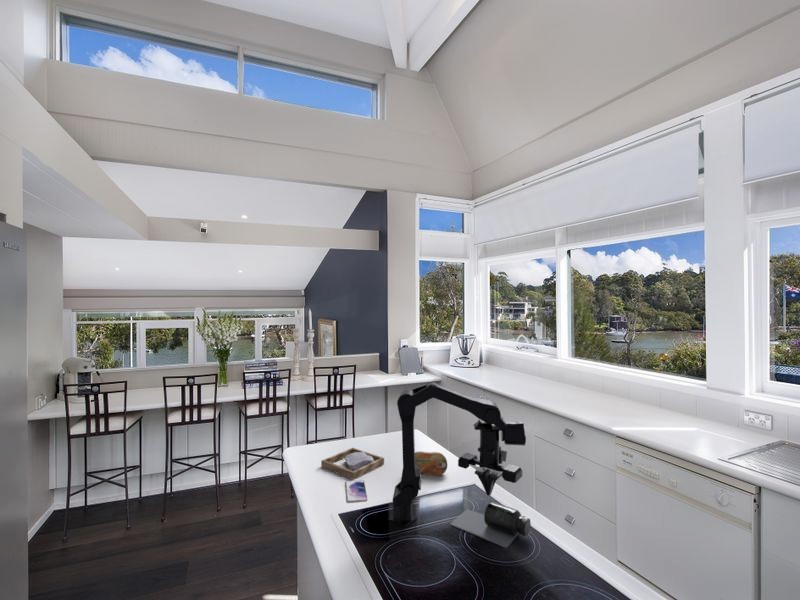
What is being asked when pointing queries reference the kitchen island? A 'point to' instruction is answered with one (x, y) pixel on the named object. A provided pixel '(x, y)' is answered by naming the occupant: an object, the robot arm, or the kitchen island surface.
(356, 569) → the kitchen island surface
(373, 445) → the kitchen island surface
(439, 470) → the tin
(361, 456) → the stone block
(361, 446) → the kitchen island surface
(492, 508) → the supplement bottle
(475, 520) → the rubber mat
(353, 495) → the smartphone
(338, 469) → the walnut tray frame
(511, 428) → the robot arm
